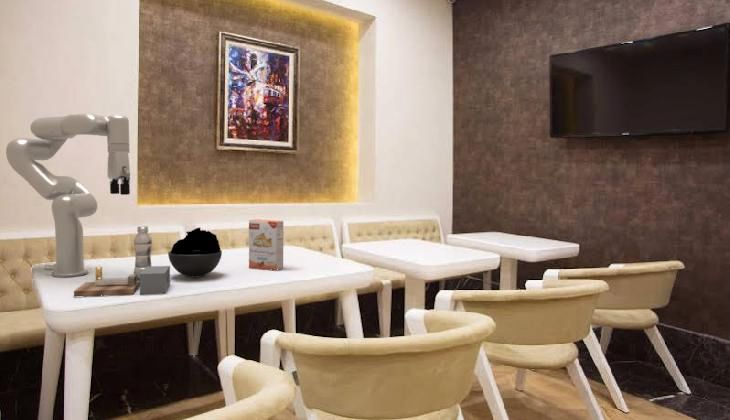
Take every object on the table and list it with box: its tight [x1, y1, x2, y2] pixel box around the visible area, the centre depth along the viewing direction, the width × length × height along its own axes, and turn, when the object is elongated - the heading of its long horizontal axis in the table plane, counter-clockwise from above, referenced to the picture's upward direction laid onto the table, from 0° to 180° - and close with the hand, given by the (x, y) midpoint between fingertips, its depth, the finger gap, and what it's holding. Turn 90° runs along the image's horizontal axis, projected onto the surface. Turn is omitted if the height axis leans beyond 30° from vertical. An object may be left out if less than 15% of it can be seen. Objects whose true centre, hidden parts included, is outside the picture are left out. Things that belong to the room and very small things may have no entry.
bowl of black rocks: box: [167, 227, 223, 278], centre depth 208 cm, size 20×20×19 cm
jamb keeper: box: [139, 265, 171, 295], centre depth 185 cm, size 8×14×7 cm, turn 14°
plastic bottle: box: [133, 226, 153, 280], centre depth 202 cm, size 6×7×20 cm
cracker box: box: [248, 218, 284, 271], centre depth 227 cm, size 14×6×21 cm, turn 68°
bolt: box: [94, 266, 128, 285], centre depth 182 cm, size 12×2×6 cm, turn 104°
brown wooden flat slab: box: [73, 273, 140, 297], centre depth 181 cm, size 18×14×5 cm
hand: (119, 194), depth 202 cm, fingers open, 9 cm apart
